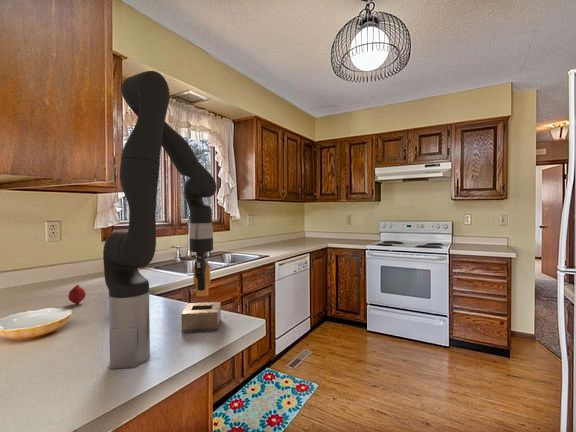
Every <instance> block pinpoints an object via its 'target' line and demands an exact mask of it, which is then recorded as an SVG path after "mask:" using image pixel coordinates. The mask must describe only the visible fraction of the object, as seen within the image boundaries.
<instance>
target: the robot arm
mask: <svg viewBox="0 0 576 432" xmlns="http://www.w3.org/2000/svg"><path fill="white" fill-rule="evenodd" d="M120 87H121V88H120V89H121V95H122V97H123V99H124V101H125V103H126V104H127V106H128V107H129V109H131V111H132V112H133V113H134V114H135V116H136V117H137V119H136V122H135V125H134V127H133V129H132V131H131V132H130V135H129V136H128V138H127V140H126V142H125V144H124V147H123V149H122V153H121V157H120V164H119V165H120V166H119V182H120V183H119V184H120V186H121V189H122V192H123V194H124V197H125V200H126V202H127V206H128V209H129V220H128V229H127V230H116V231H114V232H112V233H111V234H110V235H108V237H107V238H106V239H105V241H104V245H103V252H102V253H103V254H102V258H103V259H102V260H103V272H104V282H105V286H106V287H107V289H108V321H109V322H108V323H109V327H108V328H109V329H108V330H109V331H108V332H109V333H108V335H109V336H108V337H109V339H108V340H109V368H110V369H111V370H112V369H113V370H114V369H126V368H127V369H128V368H138V366H139V365H140V364H143V363H145V362H146V361H148V360H149V359H150V357H151V343H150V342H151V338H150V337H151V334H150V333H151V331H150V329H151V328H150V324H151V323H150V318H151V317H150V282H149V280H148V279H147V278H145V277H144V276H143V275H142V274H141V273H140V271H139V269H140V268H145V267H147V266H148V265H150V263H152V261H153V258H154V257H155V253H156V248H157V223H156V220H157V219H156V217H157V216H156V213H157V197H158V195H157V194H158V184H159V179H160V178H159V176H160V169H161V168H160V166H161V153H162V148H163V151H165V153H166V154H167V156H168V157H169V159H170V160H171V162H172V164H173V165H174V167H175V169H176V170H177V172H178V173H179V174H180V175H182V176H183V177H188V178H187V179H186V181H185V184H184V187H183V189H184V195H185V199H186V203H187V206H188V210H189V223H190V224H189V230H188V231H189V232H188V233H189V235H188V236H189V251H190V252H192V253H196V256H195V257H194V265H195V274H196V278H197V279H198V290H204V289H205V271H206V270H207V268H206V266H207V264H209V255H208V254H207V253H208V252H212V251H214V229H213V210H212V206H210V205H208V204H205V203H204V200H203V198H211V197H213V196H215V194H216V193H217V182H216V179H215V178H214V177H213V176H212V174H211V173H210V172H209V171H208V170H207V169H206V167H205V166H204V165H203V164H202V163H200V161H199V160H198V158H197V156H196V155H195V153H194V151H193V149H192V147H191V145H190V144H189V143H188V141H187V140H186V139H185V138H184V137H183V136H182V135H181V134H179V133H178V132H177V131H176V130H175V129H173V128H172V126H171V125H169V124H168V122H166V116H167V113H168V108H169V102H170V88H169V83H168V82H167V80H166V79H165V77H164V75H163V74H161V73H160V72H158V71H156V70H147V71H146V70H145V71H142V72H139V73H137V74H135V75H131V76H129V77H127V78H125V79H124V80H123V81H122V83H121V86H120ZM194 265H193V266H194ZM204 266H205V268H204ZM199 272H201V273H202V274H199Z"/></svg>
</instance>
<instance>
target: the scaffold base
mask: <svg viewBox="0 0 576 432" xmlns="http://www.w3.org/2000/svg"><path fill="white" fill-rule="evenodd" d="M221 311H222V309H221V301H215V302H213V301H212V302H209V301H208V302H191V303H189V302H188V303H187V305H186V306H185V308H184V309H183V310H182V313H181V334H182V333H184V334H199V332H203V333H217V332H216V331H219V327H220V324H221V319H222V318H221V314H222V313H221ZM197 332H198V333H197Z"/></svg>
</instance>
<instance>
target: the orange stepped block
mask: <svg viewBox="0 0 576 432" xmlns="http://www.w3.org/2000/svg"><path fill="white" fill-rule="evenodd" d="M192 267H193V285H195V296H196V297H207V296H209V285H210V283H211V264H210V263H208V264H207V266H206V268H207V270H206V271H205V289H204V290H198V279H197V278H196V274H195V265H193V266H192ZM204 268H205V266H204ZM199 274H202V273H201V272H199Z"/></svg>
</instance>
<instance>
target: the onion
mask: <svg viewBox="0 0 576 432" xmlns="http://www.w3.org/2000/svg"><path fill="white" fill-rule="evenodd" d="M86 294H87V293H86V290H85V289H84V288H83V287H81V286H80V284H76V285H75V286H73V288H71V290H70V291H69V293H68V296H67V297H68V300H69V302H71V303H74V304H76V305H79V304H80V303H81V302H82V301H84V299H85V298H86Z"/></svg>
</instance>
